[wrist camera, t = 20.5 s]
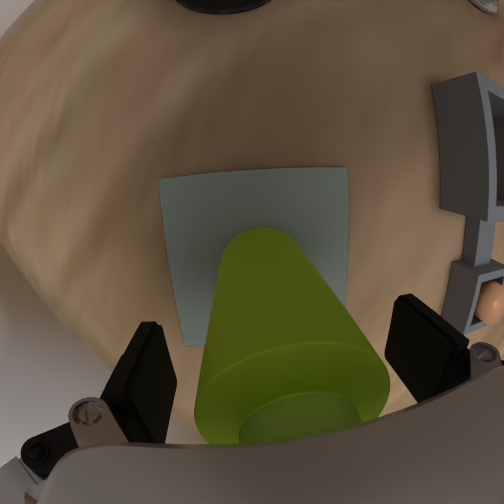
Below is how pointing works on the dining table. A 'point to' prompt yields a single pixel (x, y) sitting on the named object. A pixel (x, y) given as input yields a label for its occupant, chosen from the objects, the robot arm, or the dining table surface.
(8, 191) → the dining table surface
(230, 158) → the dining table surface
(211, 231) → the mat
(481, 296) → the tan ball
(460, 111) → the holder
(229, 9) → the milk frother
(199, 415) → the soap dispenser
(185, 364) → the dining table surface
